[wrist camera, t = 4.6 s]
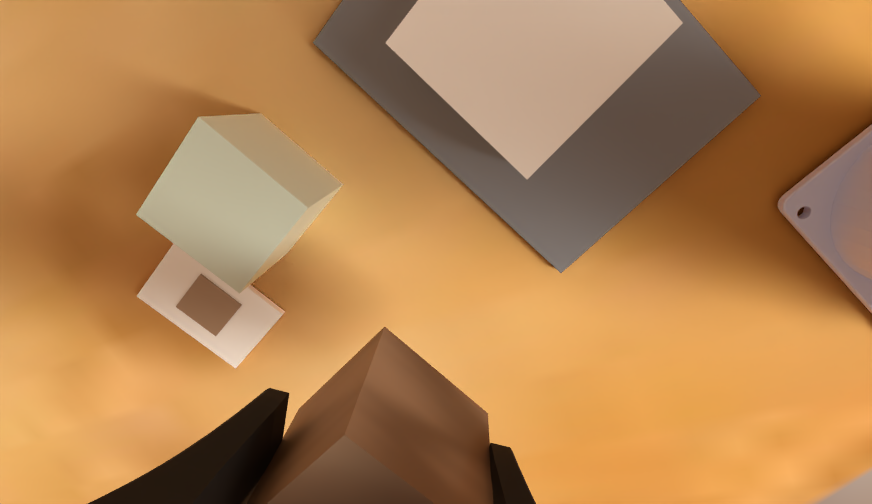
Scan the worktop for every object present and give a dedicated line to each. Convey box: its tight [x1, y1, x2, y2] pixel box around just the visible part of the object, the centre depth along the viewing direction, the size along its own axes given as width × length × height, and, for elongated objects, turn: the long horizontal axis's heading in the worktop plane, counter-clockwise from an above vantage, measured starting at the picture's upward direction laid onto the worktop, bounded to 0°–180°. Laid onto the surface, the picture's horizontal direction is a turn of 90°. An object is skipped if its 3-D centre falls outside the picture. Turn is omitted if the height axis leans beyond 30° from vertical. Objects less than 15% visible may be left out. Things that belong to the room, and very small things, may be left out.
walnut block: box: [247, 327, 493, 504], centre depth 12 cm, size 4×4×4 cm
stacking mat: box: [313, 0, 761, 273], centre depth 16 cm, size 14×10×1 cm
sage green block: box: [136, 113, 343, 294], centre depth 17 cm, size 4×4×4 cm
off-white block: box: [386, 0, 683, 179], centre depth 14 cm, size 6×6×4 cm
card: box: [137, 244, 285, 368], centre depth 21 cm, size 6×4×1 cm
